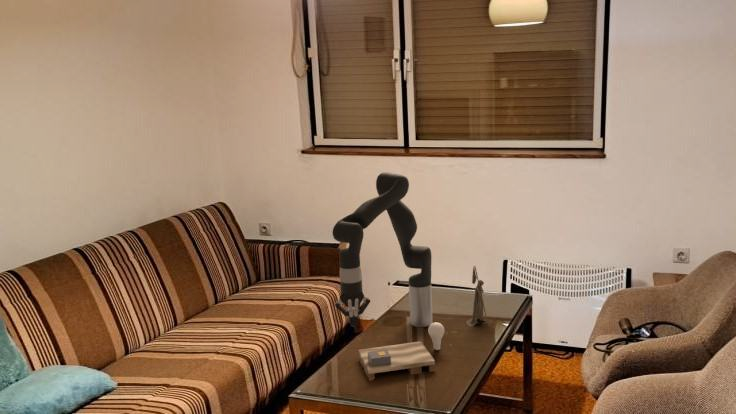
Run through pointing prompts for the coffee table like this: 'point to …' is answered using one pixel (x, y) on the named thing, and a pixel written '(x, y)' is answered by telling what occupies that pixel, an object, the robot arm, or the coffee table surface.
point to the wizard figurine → (477, 301)
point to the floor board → (399, 359)
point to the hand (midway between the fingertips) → (353, 325)
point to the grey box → (379, 358)
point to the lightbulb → (436, 334)
